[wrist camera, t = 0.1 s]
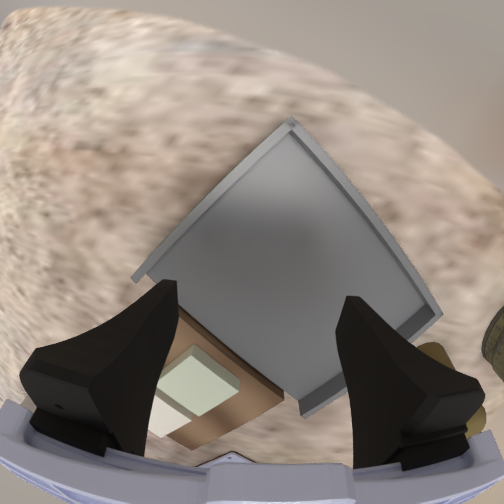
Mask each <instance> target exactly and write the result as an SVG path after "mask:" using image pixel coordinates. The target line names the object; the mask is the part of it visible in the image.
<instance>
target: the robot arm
mask: <svg viewBox="0 0 504 504" xmlns="http://www.w3.org/2000/svg"><path fill="white" fill-rule="evenodd" d="M178 321H179V309H178V292H177V280H168V279H163V280H161V281H160V282H159V283H158V284H156V285H155V286H154V287H153V288H152V289H150V290H149V291H148V292H147V293H146V294H144V295H143V296H142V297H141V298H139V299H138V300H137V301H136V302H134V303H133V304H132V305H130V306H129V307H128V308H126V309H125V310H123V311H122V312H121V313H119V314H118V315H116V316H115V317H113V318H112V319H110V320H108V321H107V322H105V323H103V324H101V325H100V326H98V327H96V328H93V329H91V330H89V331H87V332H85V333H83V334H81V335H78V336H76V337H73V338H71V339H68V340H65V341H62V342H59V343H56V344H52V345H48V346H44V347H40V348H36V349H35V350H34V352H33V353H32V355H31V356H30V358H29V359H28V360H27V362H26V363H25V365H24V366H23V368H22V370H21V371H20V374H19V376H20V380H21V383H22V385H23V387H24V389H25V390H26V392H27V394H28V395H29V397H30V398H31V400H32V401H33V403H34V404H35V405H36V407H37V408H36V410H35V412H34V414H33V413H32V412H31V411H30V410H29V409H27V408H25V407H23V406H21V405H19V404H17V403H15V402H13V401H11V400H9V399H6V401H5V402H4V404H3V406H2V408H1V409H0V463H1V464H2V465H3V466H5V467H6V468H7V469H8V470H9V471H11V472H12V473H13V474H15V475H16V476H18V477H19V478H21V479H23V480H25V481H26V482H28V483H30V484H32V485H34V486H35V487H37V488H39V489H41V490H43V491H45V492H47V493H49V494H51V495H53V496H55V497H57V498H59V499H61V500H63V501H65V502H67V503H69V504H462V503H464V502H467V501H469V500H471V499H473V498H474V497H476V496H477V495H479V494H481V493H482V492H484V491H485V490H487V489H488V488H490V487H491V486H493V485H494V484H495V483H497V482H498V481H499V480H501V479H502V478H504V461H503V458H502V455H501V453H500V450H499V448H498V446H497V443H496V441H495V438H494V436H493V434H492V431H491V430H487V431H484V432H481V433H478V434H475V435H473V436H471V437H469V438H468V439H467V438H466V436H465V433H466V432H467V431H468V428H467V425H466V423H467V422H468V421H469V419H470V418H471V417H472V416H473V415H474V414H475V413H476V412H477V411H478V409H479V408H480V407H481V405H482V404H483V402H484V399H485V393H484V391H483V389H482V387H481V385H480V383H479V382H478V380H477V379H476V378H473V377H471V376H468V375H465V374H463V373H460V372H458V371H456V370H454V369H451V368H449V367H447V366H445V365H443V364H442V363H440V362H438V361H436V360H435V359H433V358H431V357H430V356H428V355H426V354H425V353H423V352H422V351H420V350H419V349H418V348H416V347H415V346H414V345H412V344H411V343H410V342H408V341H407V340H406V339H405V338H403V337H402V336H401V335H400V334H399V333H398V332H397V331H395V330H394V329H393V328H392V327H391V326H390V325H389V324H388V323H387V322H386V321H385V320H384V319H383V318H382V317H381V316H380V315H379V314H378V313H377V312H375V311H374V310H373V309H372V308H371V307H370V306H369V305H368V304H367V303H366V302H365V301H364V300H363V299H362V298H361V297H360V296H347V295H346V299H345V302H344V305H343V308H342V311H341V315H340V318H339V321H338V324H337V327H336V330H335V335H336V344H337V351H338V355H339V359H340V363H341V367H342V370H343V374H344V378H345V382H346V386H347V390H348V394H349V399H350V407H351V416H352V429H353V469H352V468H350V467H348V466H346V465H344V464H342V463H310V464H265V463H254V462H252V461H250V460H248V459H246V458H244V457H242V456H240V455H238V454H236V453H234V452H231V453H228V454H226V455H224V456H222V457H219V458H217V459H215V460H212V461H210V462H208V463H205V464H203V465H201V466H198V467H193V466H187V465H181V464H175V463H170V462H164V461H159V460H155V459H150V458H146V457H144V452H145V444H146V438H147V431H148V425H149V420H150V415H151V410H152V405H153V400H154V396H155V392H156V387H157V384H158V381H159V378H160V375H161V372H162V370H163V367H164V364H165V362H166V359H167V356H168V354H169V351H170V348H171V346H172V343H173V340H174V338H175V334H176V329H177V325H178Z"/></svg>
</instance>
